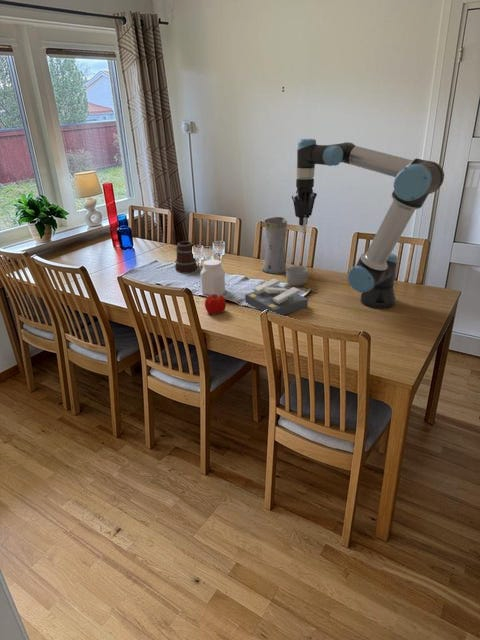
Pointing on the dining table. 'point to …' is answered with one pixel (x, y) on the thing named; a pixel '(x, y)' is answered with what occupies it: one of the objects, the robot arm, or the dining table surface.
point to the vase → (275, 245)
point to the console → (266, 302)
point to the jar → (212, 278)
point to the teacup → (296, 275)
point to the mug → (185, 257)
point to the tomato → (215, 304)
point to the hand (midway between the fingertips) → (302, 232)
